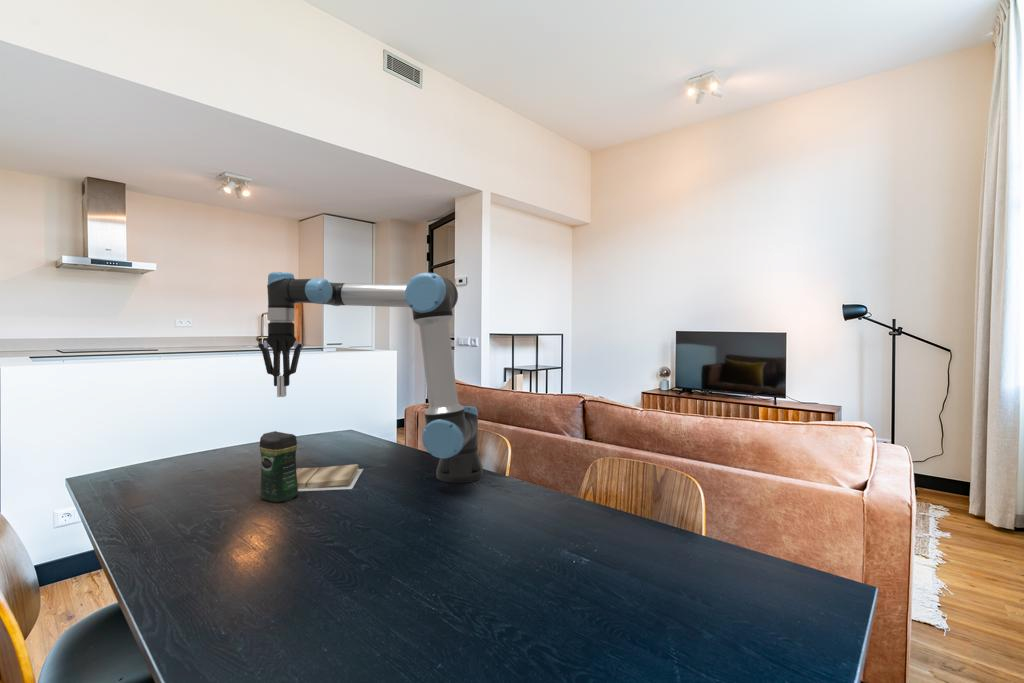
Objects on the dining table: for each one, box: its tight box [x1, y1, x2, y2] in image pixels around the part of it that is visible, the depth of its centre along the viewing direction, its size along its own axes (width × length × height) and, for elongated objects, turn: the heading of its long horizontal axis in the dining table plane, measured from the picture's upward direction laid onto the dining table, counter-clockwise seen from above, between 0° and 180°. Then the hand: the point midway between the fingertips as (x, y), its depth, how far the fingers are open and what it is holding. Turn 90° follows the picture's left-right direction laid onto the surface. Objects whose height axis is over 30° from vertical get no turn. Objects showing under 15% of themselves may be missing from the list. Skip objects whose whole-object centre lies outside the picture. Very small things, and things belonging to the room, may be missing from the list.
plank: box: [307, 463, 359, 488], centre depth 147 cm, size 12×16×2 cm
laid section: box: [296, 467, 320, 489], centre depth 145 cm, size 11×16×2 cm
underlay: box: [298, 468, 364, 492], centre depth 147 cm, size 25×20×1 cm
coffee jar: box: [259, 430, 299, 503], centre depth 131 cm, size 10×8×19 cm
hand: (281, 396), depth 147 cm, fingers closed
